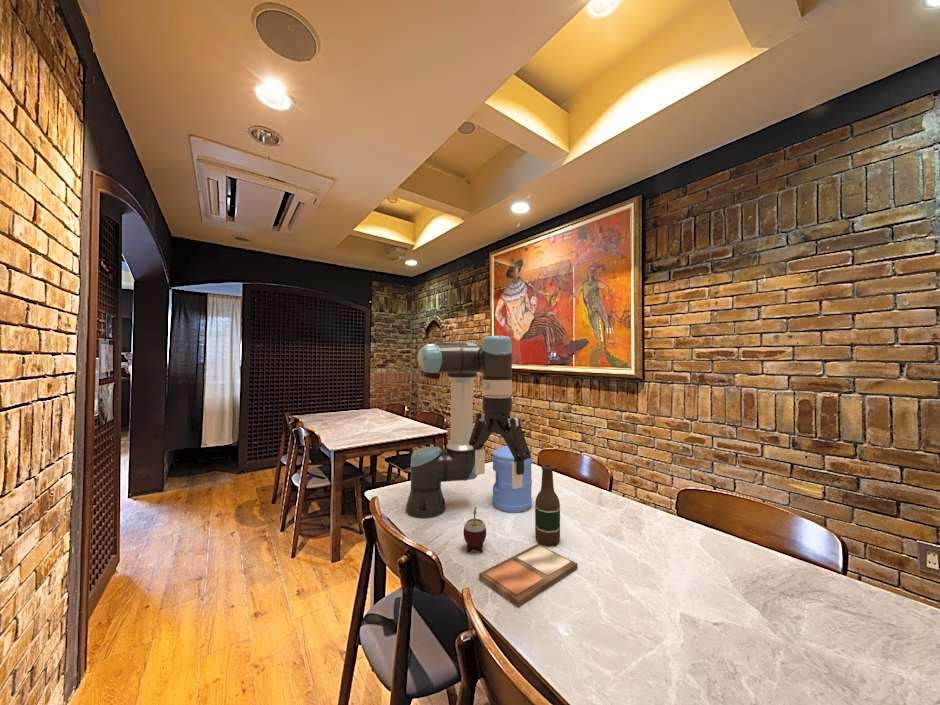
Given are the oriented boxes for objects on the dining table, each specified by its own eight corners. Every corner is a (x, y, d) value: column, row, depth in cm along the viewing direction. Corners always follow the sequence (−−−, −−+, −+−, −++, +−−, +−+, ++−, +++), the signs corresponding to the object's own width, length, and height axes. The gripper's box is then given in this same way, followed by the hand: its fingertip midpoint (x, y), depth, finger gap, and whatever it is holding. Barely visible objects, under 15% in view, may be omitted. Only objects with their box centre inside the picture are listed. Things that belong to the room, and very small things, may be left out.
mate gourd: (474, 540, 115) (474, 493, 116) (493, 549, 110) (493, 500, 110) (457, 549, 110) (457, 499, 110) (476, 559, 104) (476, 507, 105)
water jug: (537, 502, 146) (537, 433, 146) (521, 516, 132) (521, 440, 133) (503, 494, 154) (503, 429, 155) (485, 507, 141) (485, 435, 141)
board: (479, 579, 95) (479, 572, 95) (537, 548, 110) (537, 542, 110) (518, 607, 84) (518, 599, 84) (577, 569, 100) (577, 562, 100)
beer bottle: (560, 548, 110) (560, 470, 111) (534, 545, 112) (534, 468, 112) (559, 536, 118) (559, 462, 118) (535, 534, 119) (535, 461, 120)
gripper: (456, 394, 99) (456, 471, 98) (523, 401, 80) (524, 498, 79) (476, 392, 104) (477, 466, 103) (545, 399, 84) (546, 490, 84)
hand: (497, 480), depth 91 cm, fingers open, 13 cm apart
